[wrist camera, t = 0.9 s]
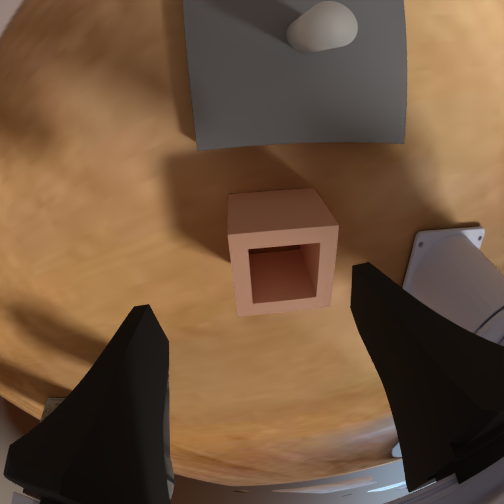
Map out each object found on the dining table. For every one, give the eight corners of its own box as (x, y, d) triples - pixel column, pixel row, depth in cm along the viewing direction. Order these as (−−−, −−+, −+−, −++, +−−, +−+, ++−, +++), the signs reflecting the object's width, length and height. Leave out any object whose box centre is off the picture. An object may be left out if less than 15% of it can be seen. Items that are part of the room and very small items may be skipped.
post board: (392, 138, 17) (447, 168, 12) (200, 145, 17) (186, 178, 12) (386, -33, 10) (441, -57, 5) (183, -42, 10) (164, -86, 5)
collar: (311, 258, 22) (329, 306, 17) (235, 266, 22) (238, 316, 17) (314, 187, 19) (338, 225, 15) (227, 194, 19) (227, 234, 14)
